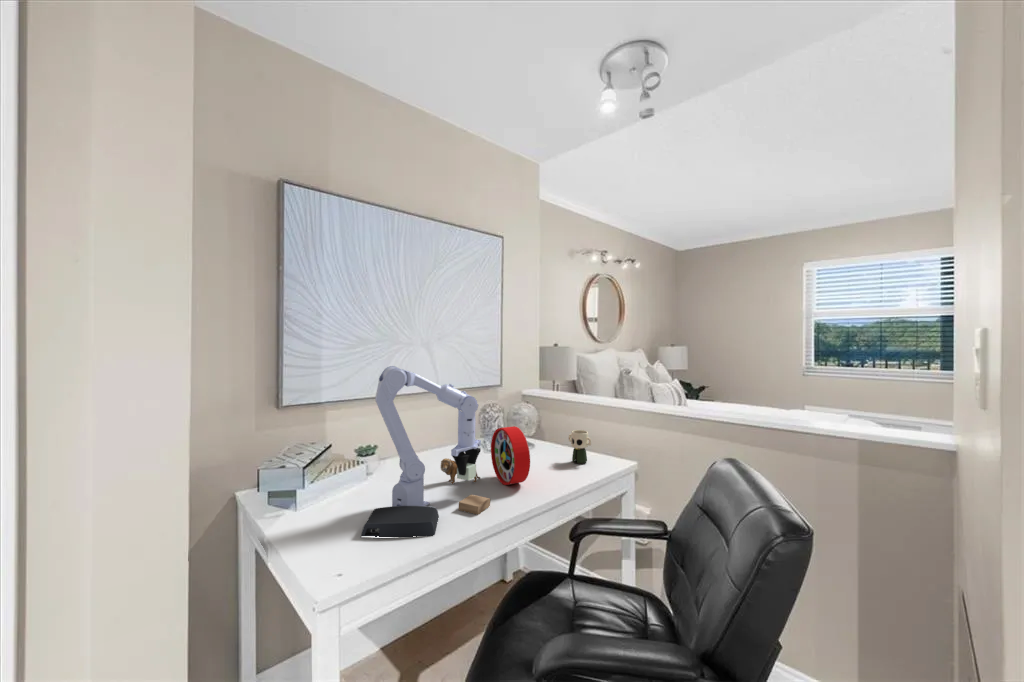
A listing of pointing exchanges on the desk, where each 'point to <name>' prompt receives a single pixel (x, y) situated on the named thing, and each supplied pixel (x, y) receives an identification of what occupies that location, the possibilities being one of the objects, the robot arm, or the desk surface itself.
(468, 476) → the sage brick
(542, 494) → the desk surface
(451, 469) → the lion figurine
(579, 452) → the character mug
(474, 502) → the base brick
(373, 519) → the external hard drive
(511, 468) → the toy clock
